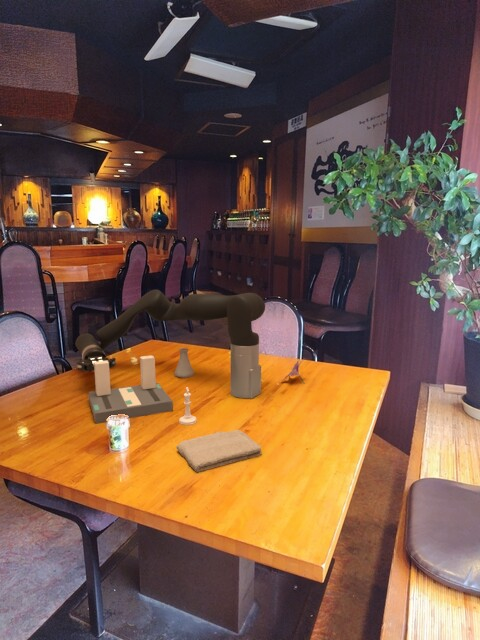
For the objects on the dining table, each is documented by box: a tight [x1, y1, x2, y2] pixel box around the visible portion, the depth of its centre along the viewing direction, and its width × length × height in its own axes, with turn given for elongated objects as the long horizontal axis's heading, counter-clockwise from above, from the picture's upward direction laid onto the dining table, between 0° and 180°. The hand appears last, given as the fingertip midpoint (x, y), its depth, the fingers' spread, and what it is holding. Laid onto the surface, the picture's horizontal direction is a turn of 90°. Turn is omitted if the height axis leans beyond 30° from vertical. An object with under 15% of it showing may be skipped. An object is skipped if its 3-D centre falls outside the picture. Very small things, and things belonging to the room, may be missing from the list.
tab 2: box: [139, 355, 157, 390], centre depth 138 cm, size 3×4×10 cm
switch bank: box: [87, 382, 174, 424], centre depth 132 cm, size 18×22×3 cm
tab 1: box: [94, 360, 111, 396], centre depth 132 cm, size 3×4×10 cm
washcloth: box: [176, 429, 262, 473], centre depth 104 cm, size 12×18×3 cm, turn 119°
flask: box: [173, 348, 195, 379], centre depth 160 cm, size 7×7×10 cm
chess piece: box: [178, 386, 197, 426], centre depth 120 cm, size 5×5×10 cm
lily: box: [281, 358, 305, 384], centre depth 154 cm, size 11×11×9 cm
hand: (100, 371), depth 137 cm, fingers closed
